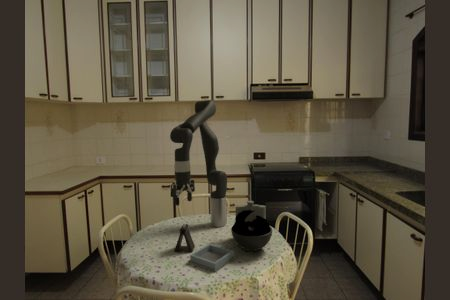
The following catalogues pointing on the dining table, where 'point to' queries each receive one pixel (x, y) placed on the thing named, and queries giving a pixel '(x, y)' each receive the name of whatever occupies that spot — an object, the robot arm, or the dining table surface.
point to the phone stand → (188, 239)
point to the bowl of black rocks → (251, 231)
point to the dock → (212, 257)
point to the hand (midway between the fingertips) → (183, 203)
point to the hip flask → (258, 210)
